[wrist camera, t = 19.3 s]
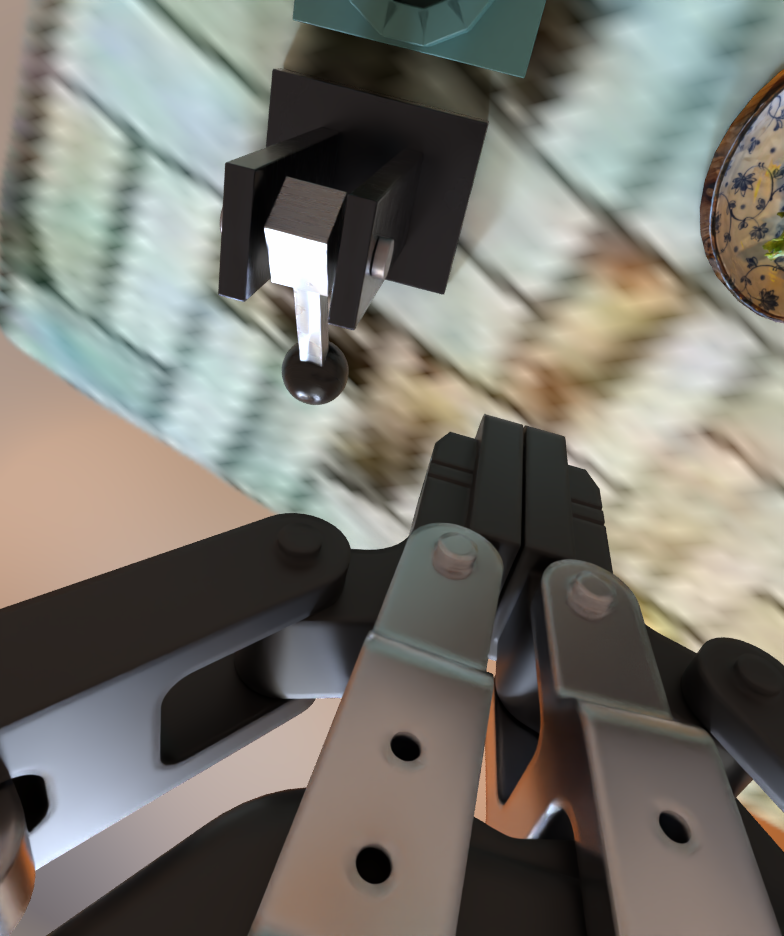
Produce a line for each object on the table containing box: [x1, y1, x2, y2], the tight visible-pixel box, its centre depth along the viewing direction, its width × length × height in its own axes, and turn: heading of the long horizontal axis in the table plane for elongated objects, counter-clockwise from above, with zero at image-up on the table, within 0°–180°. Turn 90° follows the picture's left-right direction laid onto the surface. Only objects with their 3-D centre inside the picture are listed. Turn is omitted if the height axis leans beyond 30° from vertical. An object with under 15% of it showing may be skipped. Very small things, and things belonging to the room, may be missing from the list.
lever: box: [264, 177, 348, 405], centre depth 27 cm, size 12×3×3 cm
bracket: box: [218, 68, 489, 330], centre depth 27 cm, size 8×10×13 cm
